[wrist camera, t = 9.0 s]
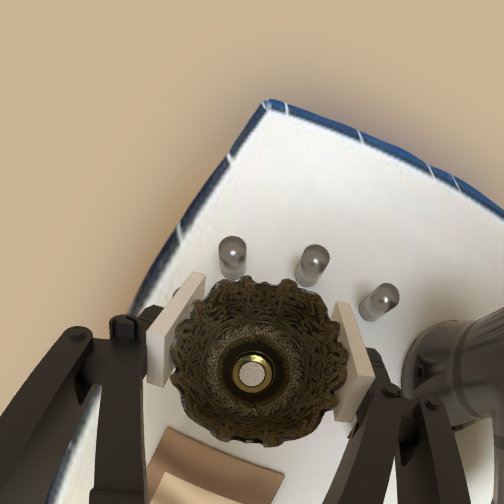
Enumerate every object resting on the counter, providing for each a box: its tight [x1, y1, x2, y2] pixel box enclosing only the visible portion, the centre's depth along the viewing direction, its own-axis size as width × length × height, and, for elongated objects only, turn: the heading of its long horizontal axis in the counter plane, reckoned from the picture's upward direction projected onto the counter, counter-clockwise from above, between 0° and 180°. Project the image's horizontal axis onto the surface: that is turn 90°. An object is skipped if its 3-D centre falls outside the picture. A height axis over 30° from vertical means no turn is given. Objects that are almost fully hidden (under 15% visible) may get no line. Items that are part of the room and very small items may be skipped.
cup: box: [169, 275, 349, 447], centre depth 15 cm, size 8×7×8 cm
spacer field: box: [172, 236, 399, 321], centre depth 32 cm, size 22×29×6 cm
